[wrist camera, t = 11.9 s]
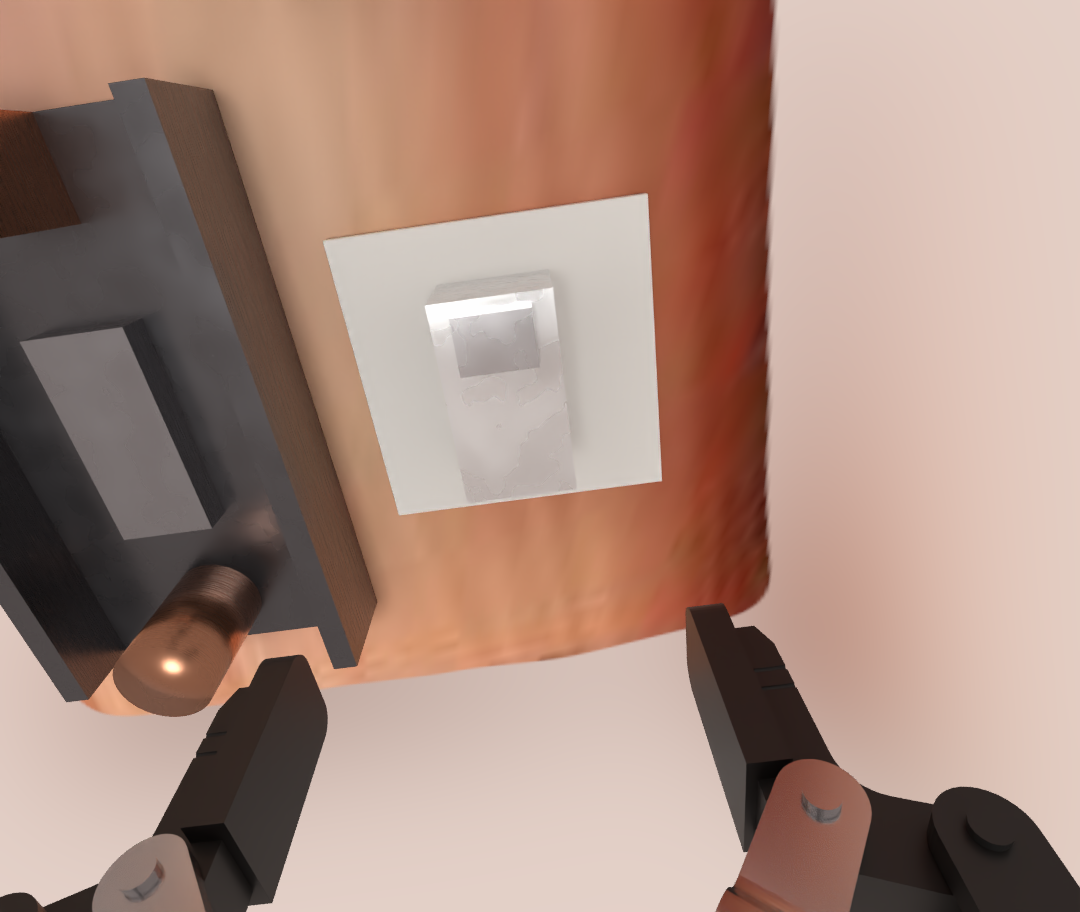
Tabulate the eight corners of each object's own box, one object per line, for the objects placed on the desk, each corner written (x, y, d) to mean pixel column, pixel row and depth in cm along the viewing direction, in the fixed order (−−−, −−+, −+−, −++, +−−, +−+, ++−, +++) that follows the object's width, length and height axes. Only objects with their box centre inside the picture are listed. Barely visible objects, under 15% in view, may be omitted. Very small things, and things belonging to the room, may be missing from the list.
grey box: (437, 284, 27) (422, 309, 23) (548, 269, 27) (553, 291, 23) (472, 462, 32) (466, 510, 27) (570, 449, 31) (578, 495, 27)
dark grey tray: (-160, 147, 25) (-410, 148, 18) (212, 90, 24) (96, 69, 18) (121, 634, 37) (32, 743, 30) (377, 601, 36) (344, 705, 29)
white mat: (326, 239, 27) (322, 241, 26) (645, 192, 27) (647, 193, 26) (401, 509, 33) (399, 515, 33) (659, 475, 33) (661, 481, 32)
